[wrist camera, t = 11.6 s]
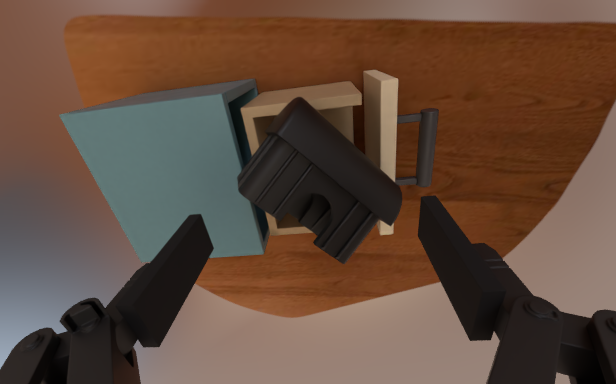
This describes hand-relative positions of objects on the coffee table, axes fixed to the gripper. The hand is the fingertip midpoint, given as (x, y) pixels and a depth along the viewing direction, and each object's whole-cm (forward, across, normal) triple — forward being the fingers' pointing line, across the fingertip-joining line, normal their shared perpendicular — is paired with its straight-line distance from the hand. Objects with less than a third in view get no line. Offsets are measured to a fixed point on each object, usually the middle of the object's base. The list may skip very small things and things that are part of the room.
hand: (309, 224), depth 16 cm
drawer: (+16, +3, 0) cm, 16 cm away
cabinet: (+16, -12, 0) cm, 20 cm away
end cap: (+8, -1, 0) cm, 8 cm away
